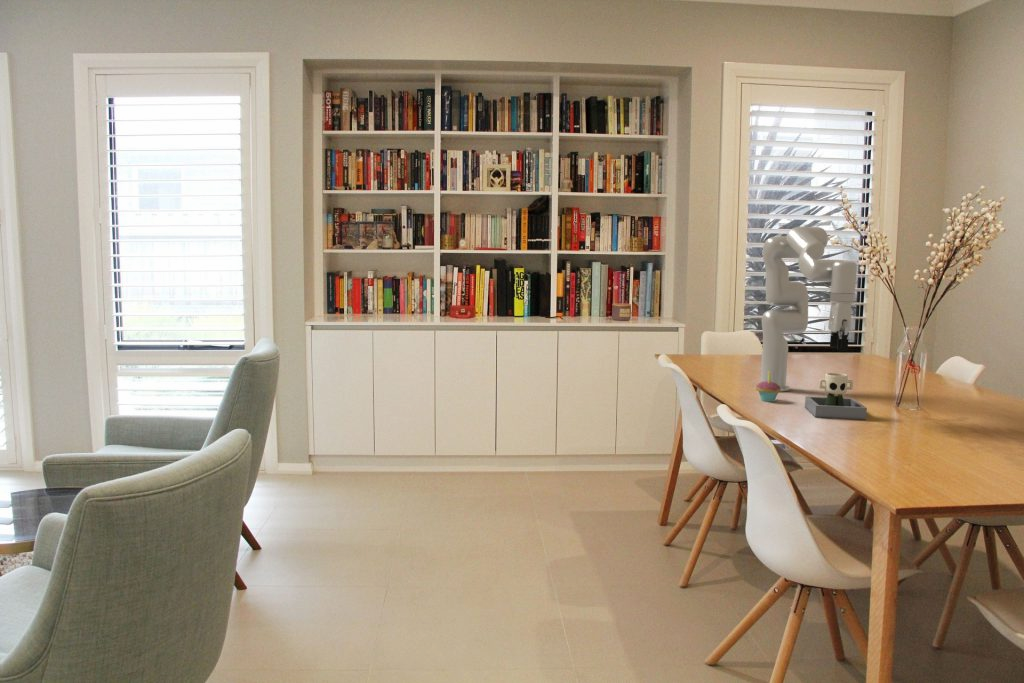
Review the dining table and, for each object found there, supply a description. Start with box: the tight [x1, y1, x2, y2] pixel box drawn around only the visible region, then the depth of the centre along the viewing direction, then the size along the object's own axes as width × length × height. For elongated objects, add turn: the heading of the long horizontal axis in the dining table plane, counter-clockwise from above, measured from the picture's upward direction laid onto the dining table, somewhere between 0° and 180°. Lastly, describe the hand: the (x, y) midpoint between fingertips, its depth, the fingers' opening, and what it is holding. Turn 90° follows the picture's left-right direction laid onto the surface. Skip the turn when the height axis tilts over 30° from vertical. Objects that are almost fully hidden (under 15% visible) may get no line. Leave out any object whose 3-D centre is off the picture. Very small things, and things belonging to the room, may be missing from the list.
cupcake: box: [755, 371, 780, 403], centre depth 286 cm, size 9×8×12 cm
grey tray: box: [804, 395, 868, 421], centre depth 266 cm, size 16×16×4 cm
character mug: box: [818, 372, 854, 406], centre depth 265 cm, size 11×7×13 cm, turn 81°
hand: (838, 348), depth 263 cm, fingers open, 9 cm apart
